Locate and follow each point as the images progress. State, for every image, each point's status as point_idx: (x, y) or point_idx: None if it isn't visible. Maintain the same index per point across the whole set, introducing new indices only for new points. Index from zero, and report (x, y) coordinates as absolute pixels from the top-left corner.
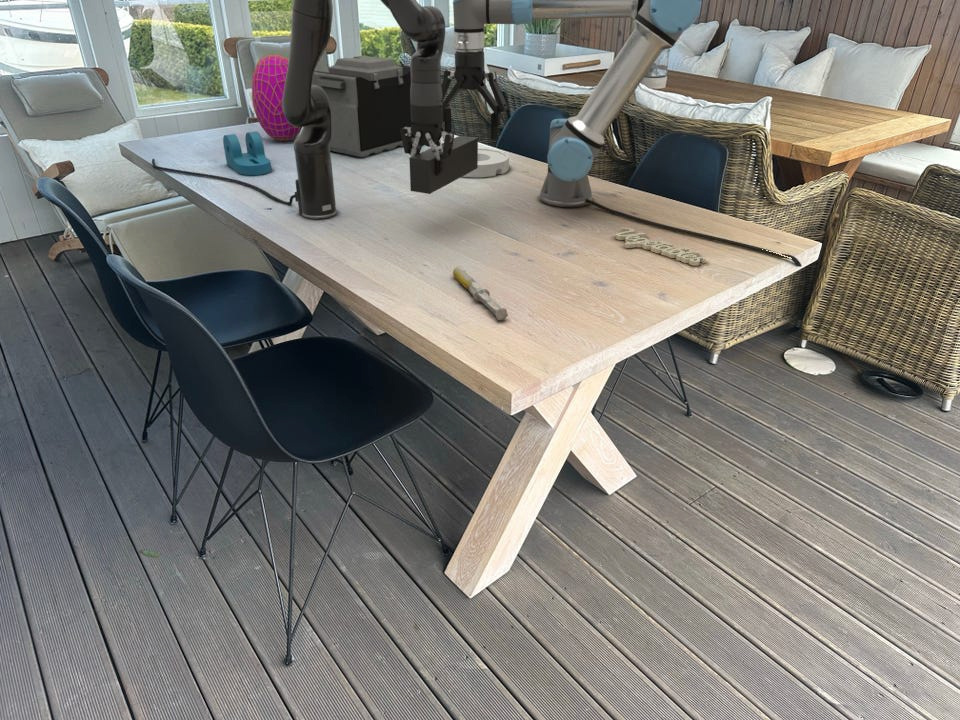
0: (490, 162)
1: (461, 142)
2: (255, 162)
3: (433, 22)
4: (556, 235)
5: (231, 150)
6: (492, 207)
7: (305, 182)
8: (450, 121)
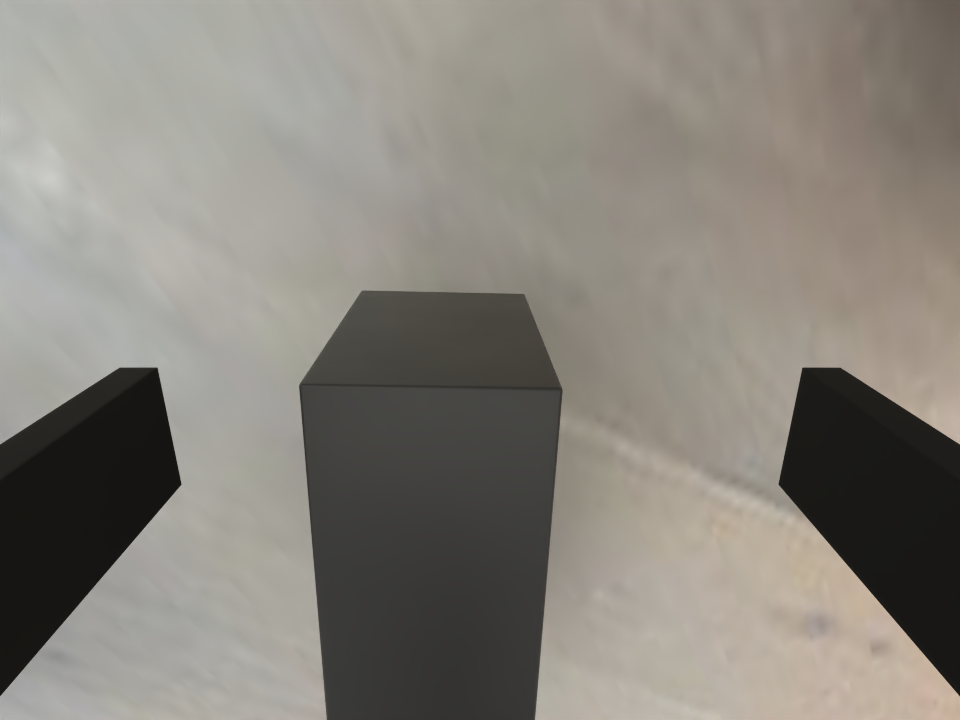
0: None
1: (481, 639)
2: None
3: None
4: (956, 400)
5: None
6: (562, 153)
7: None
8: (52, 477)
